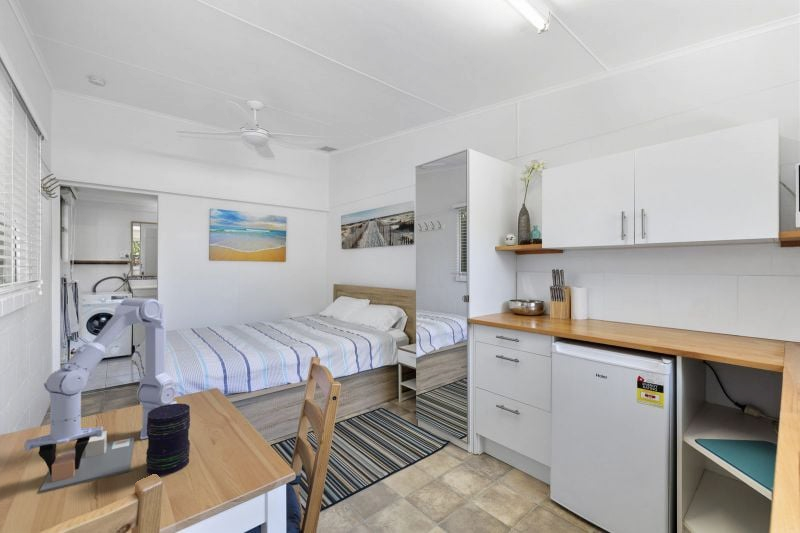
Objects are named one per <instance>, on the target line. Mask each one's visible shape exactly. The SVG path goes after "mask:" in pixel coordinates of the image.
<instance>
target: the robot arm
mask: <svg viewBox="0 0 800 533" xmlns="http://www.w3.org/2000/svg"><path fill="white" fill-rule="evenodd" d="M136 324H141V325H142V326H143V327H145V329H144V330H145V336H144V338H145V340H144V341H145V342H144V343H145V344H144V345H145V360H144V362H145V367H144V368H145V372H144V373H145V375H144V376H143V377H142V378H141V379H140V380H139V387H138V389H137V391H136V399H137V400H138V401H139V402H140V404H141V406H142V417H141V418H142V419H141V421H142V423H141V424H142V427H141V429H140V436H139V439H140V440H146V439H147V440H148V436H147V420H148V418H147V415H148V412H150V411H151V410H153V409H155V408H157V407H160V406H164V405H169V404H178V402H177V401H175V400H174V399H175V396H176V392H177V391H176V387H175V385H174V379H173V378H172V377H171V376H170V375H169V374H168V373H167V317H166V315H165V313H164V304H163V303H162V302H160V301H159V300H157V299H155V298H137V297H127V298H125V299H123V300H122V301H121V302H120V304H119V305H117V306H116V307H115V310H114V314H113V315H112V317H111V318H110V319H109V320H108V321H107V322H106V324H105V325H104V327H103V328H102V329H101V330H100V332H98V334H97V335H96V337H95V338H94V339H93V340H92V341H91V342H87V343H84V344H82V345H81V346H78V347H77V348H76V349H75V351H76V352H75V353H74V354H73V355H72V356H71V357H70V358H69V360H68V361H66V363H63V365H61V368H60V369H58V370H55V371H54V372H52V373H51V374H50V375H49V376H48V378H47V380H46V382H44V383H43V387H44V390H46V391H47V392H48V393H49V398H50V400H49V401H50V407H49V408H50V409H49V410H50V411H49V412H50V416H49V417H50V418H49V424H50V425H49V429H50V430H49V434H46V435H43V436H39V437H36V438H35V437H34V438H31V439H27V440H25V442H24V450H23V451H24V452H27V451H31V450H33V449H37V448H39V450H38V451H37V452H38V455H39V456H40V458H41V459H42V460H43V461H44V462H45V465H46V467H47V468H48V473H49V472H50V475H52V464H53V463H54V461H55V459H56V457H57V455H56V454H57V445H64V444H67V443H69V442H73V441H76V442H75V444H74V449H75V455H76V459H75V470H76V469H79V467H80V461H81V457H82V454H83V452H84V450H85V448H86V446H87V444H88V442H89V439H90V437H95V436H97V437H101V436H102V434H103V431H104V426H103V425H102V426H95V427H94V426H93V427H85V428H82V422H81V421H82V420H81V419H82V390H83V389H84V388H85V387H86V386H87V384H88V379H89V376H91V375H90V374H91V372H92V371H93V370H94V369H95V368H96V367H97V365H98V364H99V363H100V362H101V361H102V360H103V359H104V357H105V356H106V348H107V347H108V346H109V345H110V344H111V342H113V341H114V340H115V339H116V338H117V337H118V335H120V334H121V332H122V331H124V329H126V328H127V327H128V326H133V325H136Z"/></svg>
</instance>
